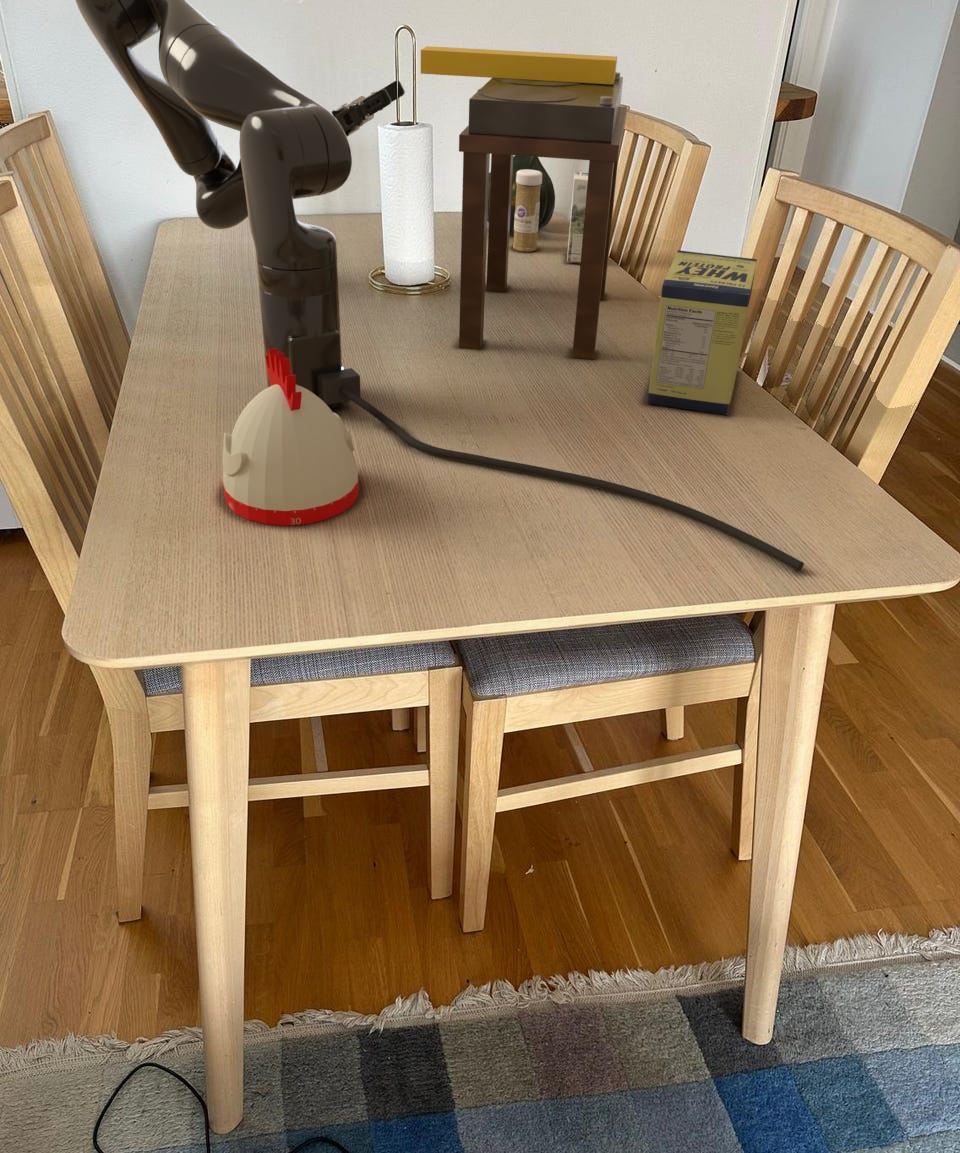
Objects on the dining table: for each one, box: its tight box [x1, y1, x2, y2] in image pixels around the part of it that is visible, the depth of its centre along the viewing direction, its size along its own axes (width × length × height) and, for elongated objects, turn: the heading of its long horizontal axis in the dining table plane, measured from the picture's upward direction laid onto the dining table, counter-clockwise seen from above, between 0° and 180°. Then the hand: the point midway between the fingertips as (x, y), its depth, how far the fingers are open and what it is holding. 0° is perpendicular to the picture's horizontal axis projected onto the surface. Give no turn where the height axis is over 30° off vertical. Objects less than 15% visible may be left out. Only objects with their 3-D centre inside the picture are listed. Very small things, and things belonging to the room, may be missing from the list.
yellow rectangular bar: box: [420, 45, 618, 85], centre depth 141 cm, size 27×4×3 cm, turn 81°
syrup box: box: [566, 171, 589, 265], centre depth 176 cm, size 6×6×14 cm
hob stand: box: [458, 71, 628, 360], centre depth 144 cm, size 20×30×33 cm, turn 171°
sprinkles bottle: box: [512, 169, 542, 253], centre depth 181 cm, size 5×5×13 cm
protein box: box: [646, 249, 758, 416], centre depth 129 cm, size 10×16×16 cm
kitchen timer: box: [221, 348, 360, 526], centre depth 102 cm, size 14×14×15 cm
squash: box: [487, 155, 556, 235], centre depth 192 cm, size 14×15×15 cm
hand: (395, 90), depth 145 cm, fingers open, 8 cm apart
